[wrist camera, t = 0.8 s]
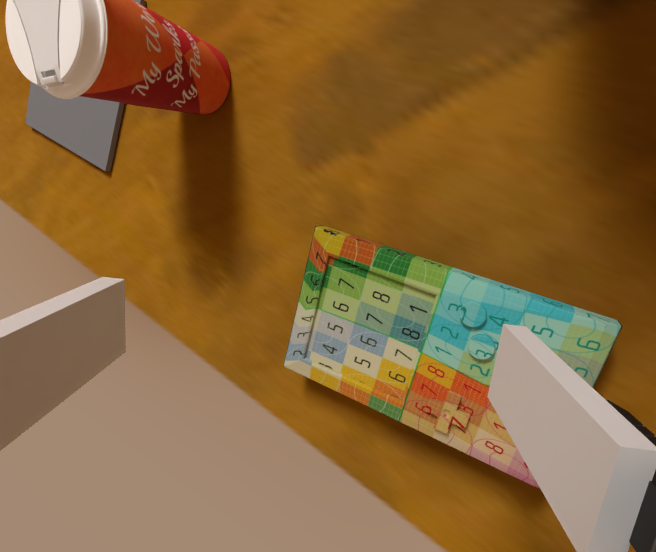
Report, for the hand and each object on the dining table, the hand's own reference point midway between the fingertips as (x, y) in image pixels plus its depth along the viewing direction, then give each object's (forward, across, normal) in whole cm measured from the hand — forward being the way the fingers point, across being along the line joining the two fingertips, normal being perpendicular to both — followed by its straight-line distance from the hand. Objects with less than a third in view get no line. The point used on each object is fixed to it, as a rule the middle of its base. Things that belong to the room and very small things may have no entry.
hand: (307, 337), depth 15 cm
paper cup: (+26, -13, +12) cm, 31 cm away
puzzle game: (+18, +8, -6) cm, 20 cm away
